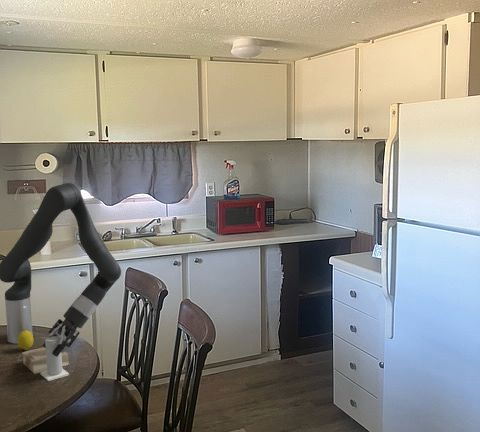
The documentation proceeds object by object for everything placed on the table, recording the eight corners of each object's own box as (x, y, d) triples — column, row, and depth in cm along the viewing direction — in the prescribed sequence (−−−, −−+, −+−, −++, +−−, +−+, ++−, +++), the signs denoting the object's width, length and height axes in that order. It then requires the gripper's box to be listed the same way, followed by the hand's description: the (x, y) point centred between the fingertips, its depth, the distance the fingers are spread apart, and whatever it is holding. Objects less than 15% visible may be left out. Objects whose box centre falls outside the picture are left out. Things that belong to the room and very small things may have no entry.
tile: (40, 374, 183) (40, 372, 183) (60, 368, 188) (60, 367, 188) (48, 381, 178) (48, 379, 178) (68, 375, 183) (68, 373, 182)
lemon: (15, 352, 203) (13, 331, 202) (26, 346, 208) (24, 326, 207) (26, 354, 201) (25, 333, 200) (37, 348, 206) (36, 328, 205)
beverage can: (58, 376, 180) (55, 341, 178) (44, 375, 181) (42, 341, 179) (65, 369, 185) (62, 336, 183) (52, 368, 186) (49, 335, 184)
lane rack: (22, 363, 193) (22, 352, 192) (56, 354, 200) (55, 344, 200) (34, 373, 184) (33, 362, 183) (68, 364, 191) (68, 353, 191)
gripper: (64, 300, 190) (33, 339, 184) (81, 310, 179) (48, 352, 174) (79, 312, 194) (49, 350, 188) (97, 322, 183) (65, 363, 178)
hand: (49, 351), depth 181 cm, fingers open, 8 cm apart
